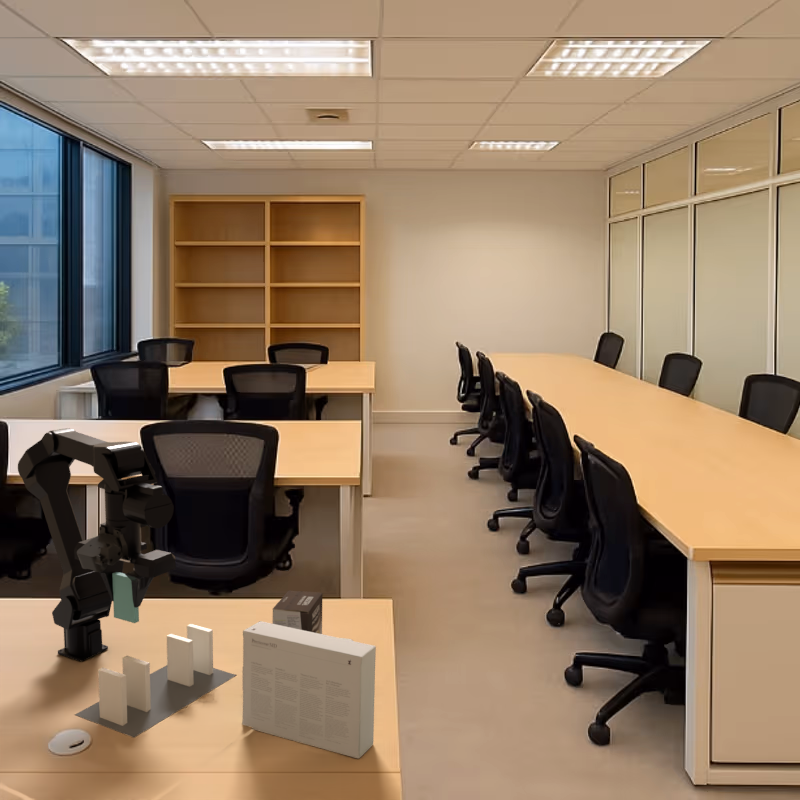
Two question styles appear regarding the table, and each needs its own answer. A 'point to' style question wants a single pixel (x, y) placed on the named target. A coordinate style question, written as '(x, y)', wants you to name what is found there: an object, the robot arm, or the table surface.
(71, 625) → the robot arm
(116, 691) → the domino
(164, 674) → the mat
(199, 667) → the domino
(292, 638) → the skincare box
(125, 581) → the teal tile
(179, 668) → the domino
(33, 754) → the table surface
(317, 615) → the coffee box
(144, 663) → the domino
